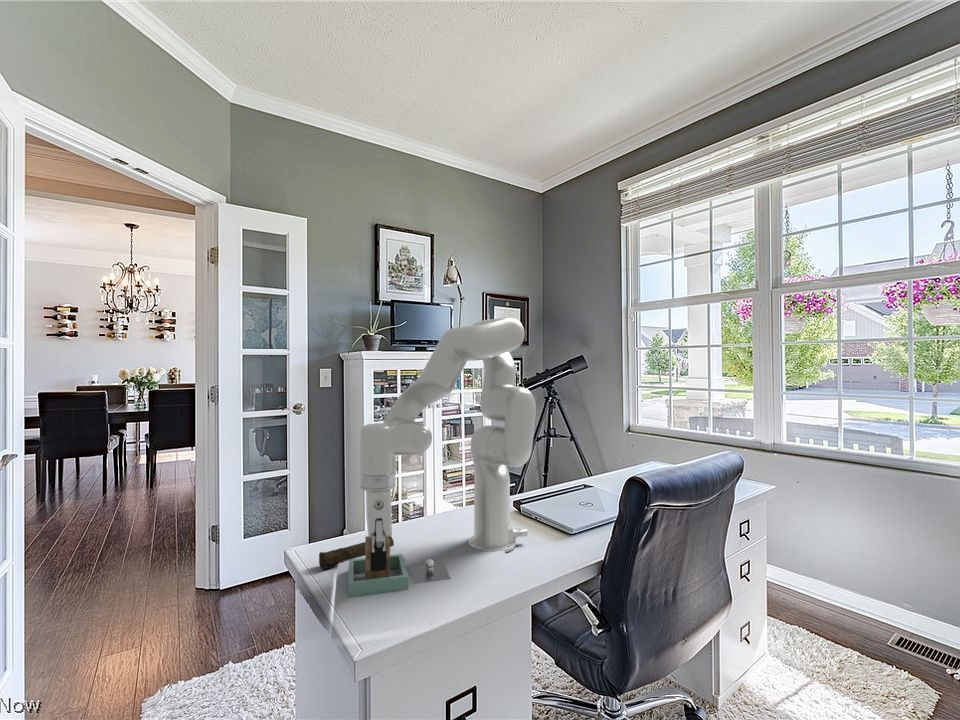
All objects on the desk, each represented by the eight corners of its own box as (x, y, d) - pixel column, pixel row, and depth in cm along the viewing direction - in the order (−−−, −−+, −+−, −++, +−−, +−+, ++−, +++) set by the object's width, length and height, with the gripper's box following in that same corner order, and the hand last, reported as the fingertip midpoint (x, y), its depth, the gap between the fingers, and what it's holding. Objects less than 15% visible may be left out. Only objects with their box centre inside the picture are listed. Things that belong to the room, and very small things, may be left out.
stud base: (443, 567, 106) (443, 550, 106) (450, 583, 98) (450, 564, 98) (409, 571, 103) (409, 554, 104) (414, 588, 96) (414, 569, 96)
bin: (402, 569, 105) (402, 553, 105) (408, 593, 93) (408, 576, 94) (348, 575, 102) (349, 559, 102) (348, 601, 90) (348, 584, 90)
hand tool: (323, 573, 103) (323, 552, 103) (317, 566, 107) (318, 547, 107) (398, 553, 115) (398, 535, 115) (391, 548, 118) (391, 530, 118)
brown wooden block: (388, 574, 101) (388, 534, 101) (389, 585, 96) (389, 542, 96) (365, 577, 99) (365, 536, 100) (365, 588, 95) (365, 545, 95)
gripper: (398, 489, 91) (398, 578, 90) (392, 471, 107) (391, 545, 107) (360, 492, 89) (360, 582, 88) (359, 472, 105) (359, 549, 105)
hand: (377, 561), depth 98 cm, fingers open, 7 cm apart
